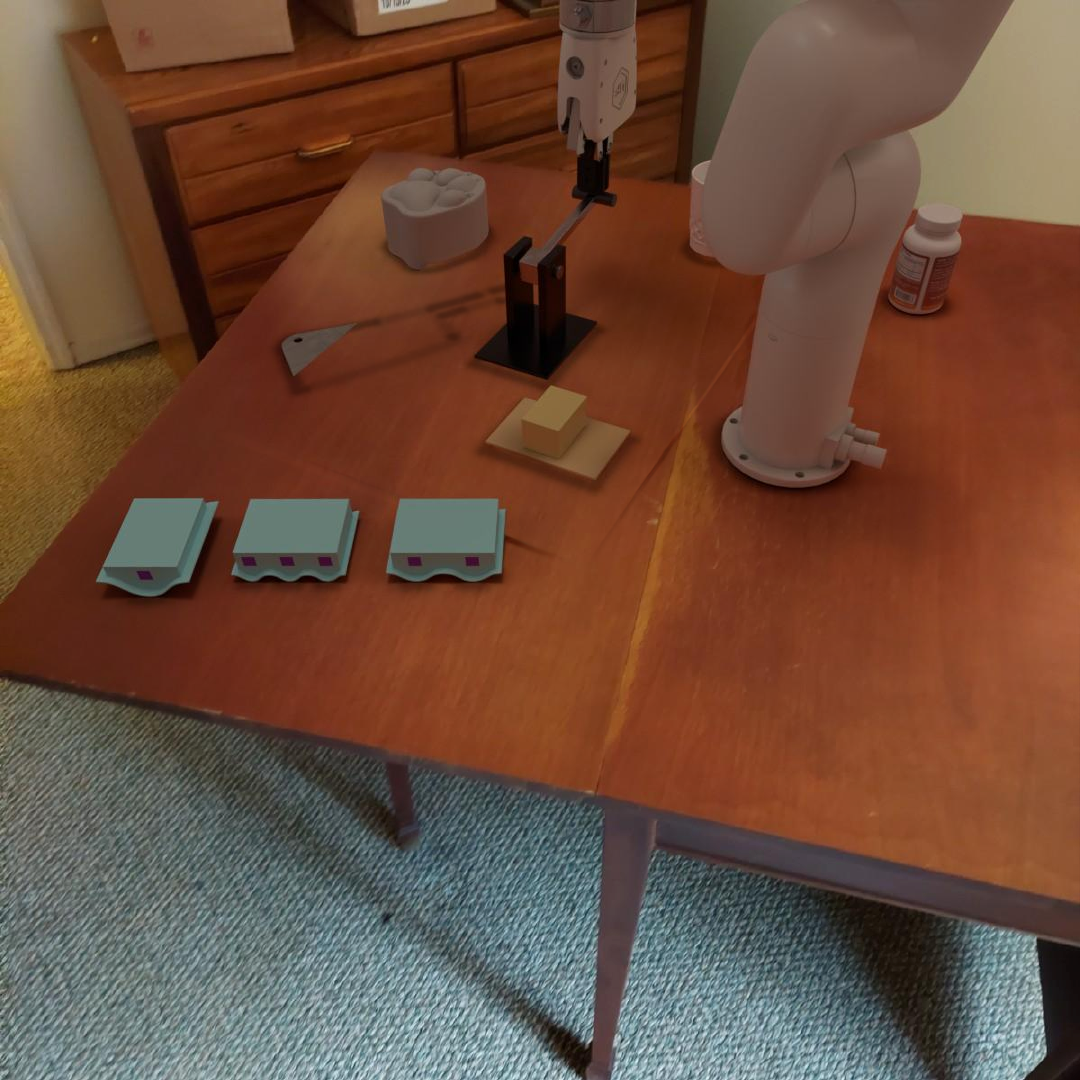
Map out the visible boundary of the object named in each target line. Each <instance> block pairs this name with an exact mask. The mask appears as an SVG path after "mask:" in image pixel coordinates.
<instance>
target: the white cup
mask: <svg viewBox="0 0 1080 1080" xmlns="http://www.w3.org/2000/svg"><path fill="white" fill-rule="evenodd" d="M710 162H711V159H710V160H706V161H703V162H700V163H698V164H697V165H695V166H694V167H693V168H692V170H691V180H690V181H691V182H690V198H689V199H690V201H689V202H690V203H689V234H690V235H689V247H690V248H691V249H692V250H693V252H696V253H698V254H699V255H702V256H704V257H711V258H715V257H714V256H713V254H712V253H711V251H710V249H709V247H708V245H707V243H706V240H705V237H704V233H703V229H702V223H701V199H702V191H703V187H704V182H705V178H706V174H707V171H708V168H709V165H710Z"/></svg>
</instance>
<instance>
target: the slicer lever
mask: <svg viewBox="0 0 1080 1080" xmlns="http://www.w3.org/2000/svg"><path fill="white" fill-rule="evenodd" d="M571 197H572V199H575V200H579V201H580V202H579V203H578V205H576V207H575V208H574V209H573V211H572V212H571V213H569V215H568V216H567V218H566V219H565V220H564V221H563V222H562V223H561V224H560V226H559V227H558V228H557V229H556V230H555V231H554V232H553V234H552V235H551V236H550V237H549V238H548V239H547V241H546V242H545V243H544V244H543V246H542V247H540V248H538V247H534V246H532V247H531V248H530V249H529V250H528V251H527V253H526V254H525V255H524V256H523V257H522V258H521V259H520V261H519V269H520V278H521V281H524V282H528V283H531V284H533V285H534V286H538V263H539V262H540V261H541V260H542V259H543V258H544V257H545V256H546V255H547V254H548V253H549V252H550V251H551V250H552V249H553V248H554V247H555V246H556V245H557V244H559V245H563V244H564V243H565V242H566V241H567V239H569V238H570V236H571V235H572V233H574V231H575V230H576V229H577V228H578V227H579V225H580V224H581V223H582V222H583V220H584V219H585V218H586V217H587V216H588V214H589V213H591V211H592V209H594V207H595V206H596V205H601V206H605V207H610V208H614V207H615V206H617V205H616V204H617V201H618V195H617V194H616V193H614V192H610V191H604V193H603V194H601V195H598V194H594V193H590V192H585V191H581V190H579V189H578V188H577V184H575V185H573V187H572V190H571Z"/></svg>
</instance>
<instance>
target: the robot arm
mask: <svg viewBox="0 0 1080 1080" xmlns="http://www.w3.org/2000/svg"><path fill="white" fill-rule="evenodd" d="M637 1H638V0H559V7H558V9H559V13H558V14H559V15H558V16H559V17H558V18H559V21H558V22H559V23H558V24H559V26H558V27H559V29H560V31H562V36H561V43H560V53H559V65H558V78H557V79H558V80H557V81H558V82H557V104H556V105H557V106H556V107H557V126H558V127H557V128H558V131H559V133H560V134H561V135H562V136H567V139H566V153H568V154H572V155H575V157H576V185H577V188H578V189H579V190H581V191H585V192H590V193H594V194H598V195H601V194H603V193H604V191H605V192H607V190H608V189H609V187H610V168H611V167H610V164H611V154H610V153H611V151H612V149H613V141H614V132H615V131H616V130H617V129H618V128H619V127H621V126H622V125H623V124H624V123H625V122H626V121H627V120H628V119H629V118H631V116H632V115H633V114H634V112H635V109H636V104H637V76H638V75H637V72H638V71H637V68H638V65H637V63H638V61H637V59H638V55H637V51H638V49H637V48H638V47H637V33H636V22H637V21H636V19H637ZM1014 2H1015V0H806V1H804V2H801V3H799V4H797V5H795V6H793V7H791V8H789V9H788V10H786V11H784V12H783V13H782V14H781V15H779V16H778V17H777V18H776V19H774V21H773V22H771V24H770V25H769V26H768V27H767V28H766V29H765V30H764V32H763V33H762V35H761V36H760V37H759V39H758V40H757V42H756V43H755V45H754V46H753V48H752V50H751V52H750V54H749V56H748V58H747V60H746V63H745V66H744V68H743V71H742V73H741V75H740V78H739V81H738V83H737V86H736V89H735V93H734V95H733V98H732V100H731V103H730V106H729V110H728V112H727V115H726V117H725V120H724V123H723V126H722V129H721V132H720V134H719V136H718V140H717V142H716V145H715V148H714V151H713V153H712V157H711V159H710V160H711V162H710V165H709V168H708V171H707V174H706V178H705V182H704V187H703V191H702V199H701V223H702V229H703V233H704V237H705V240H706V243H707V245H708V247H709V249H710V251H711V253H712V254H713V256H714V257H713V258H715V260H716V261H717V262H719V264H720V265H721V266H723V267H724V268H725V269H727V270H729V271H731V272H734V273H736V274H739V275H744V276H763V275H764V280H763V284H762V289H761V292H760V293H761V294H760V299H759V304H758V311H757V316H756V323H755V329H754V334H753V339H752V346H751V353H750V358H749V364H748V370H747V376H746V382H745V388H744V394H743V400H742V406H740V407H738V408H736V409H735V410H734V411H732V412H731V413H730V414H729V415H728V417H727V418H726V420H725V421H724V423H723V425H722V431H721V437H720V438H721V441H720V442H721V447H722V451H723V453H724V454H725V456H726V458H727V460H729V462H730V463H731V464H732V466H734V467H735V468H737V469H738V470H739V471H740V472H742V473H743V474H745V475H747V476H748V477H750V478H752V479H754V480H757V481H760V482H762V483H764V484H767V485H773V486H776V487H783V488H792V489H793V488H794V489H795V488H797V489H798V488H802V489H803V488H809V487H817V486H819V485H823V484H826V483H829V482H830V481H832V480H835V479H836V478H838V477H839V476H840V475H842V474H843V473H844V472H845V471H846V469H847V468H848V467H849V466H850V463H851V461H854V462H857V463H860V464H861V465H864V466H867V467H870V468H873V469H877V470H881V469H882V466H883V463H884V461H885V458H886V455H887V452H888V449H886V448H882V447H880V446H877V445H878V442H879V439H880V435H881V433H879V432H877V431H873V430H870V429H864V428H861V427H857V424H856V423H853V422H852V418H853V414H854V410H855V409H854V407H851V406H849V403H850V400H851V396H852V391H853V389H854V388H853V387H854V384H855V380H856V376H857V372H858V368H859V365H860V361H861V357H862V353H863V350H864V346H865V342H866V338H867V334H868V331H869V327H870V324H871V321H872V318H873V315H874V311H875V307H876V303H877V300H878V296H879V294H880V293H879V292H880V289H881V286H882V283H883V279H884V276H885V273H886V271H887V268H888V265H889V262H890V260H891V257H892V256H893V253H894V251H895V248H896V246H897V245H898V243H899V240H900V238H901V236H902V235H903V233H904V230H905V228H906V226H907V224H908V222H909V219H910V218H911V215H912V214H913V213H912V212H913V210H914V208H915V205H916V203H917V198H918V196H919V191H920V187H921V180H922V162H921V155H920V151H919V148H918V145H917V143H916V141H915V139H914V137H913V136H912V134H911V132H910V131H909V130H912V129H915V128H917V127H920V126H922V125H924V124H927V123H928V122H930V121H933V120H934V119H936V118H938V117H939V116H941V115H942V114H943V113H944V112H945V111H947V109H948V108H949V107H950V106H951V105H952V104H953V102H954V101H955V100H956V98H957V97H958V96H959V95H960V94H959V93H961V91H962V90H963V88H964V86H965V85H966V83H967V81H968V80H969V78H970V76H971V74H972V73H973V71H974V70H975V68H976V66H977V64H978V62H979V61H980V59H981V57H982V56H983V54H984V52H985V51H986V49H987V47H988V46H989V44H990V42H991V40H992V39H993V37H994V36H995V34H996V32H997V30H998V28H999V27H1000V25H1001V23H1002V22H1003V20H1004V18H1005V17H1006V15H1007V13H1008V11H1009V10H1010V8H1011V6H1012V5H1013V3H1014Z"/></svg>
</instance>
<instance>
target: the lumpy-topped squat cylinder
mask: <svg viewBox="0 0 1080 1080" xmlns="http://www.w3.org/2000/svg"><path fill="white" fill-rule="evenodd" d="M380 199H381V207H382V214H383V222H384V227H385V229H384V230H385V236H386V242H387V249H388V251H389V253H391V254H392V255H394V256H396V257H398V258H400V259H401V260H402V261H403V262H404V263H405V264H406V265H407V266H408V267H409V268H410V269H413V270H416V271H422V270H423V269H425V267H427V266H428V265H431V264H437V263H440V262H445V261H448V260H450V259H453V258H456V257H458V256H461V255H464V254H466V253H469V252H472V251H473V250H475V249H477V248H478V247H479V246H480V245H481V244H482V243H484V241H485V240H486V239H487V237H488V235H489V231H490V227H489V212H488V196H487V183H486V181H485V179H484V177H482V175H479V174H476V173H474V172H473V173H472V171H471V172H470V171H462V170H461V169H458V168H454V167H448V168H445V169H443V170H441V171H440V170H438V169H437V170H434V171H432V170H430V169H428V168H426V167H417V168H415V169H413V170H411V171H410V172H409V174H408V175H407V179H403V180H402V181H398V182H396V183H393V184H391V185H389V186H387V187H386V188H384V190H383V191H382V193H381V194H380Z"/></svg>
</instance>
